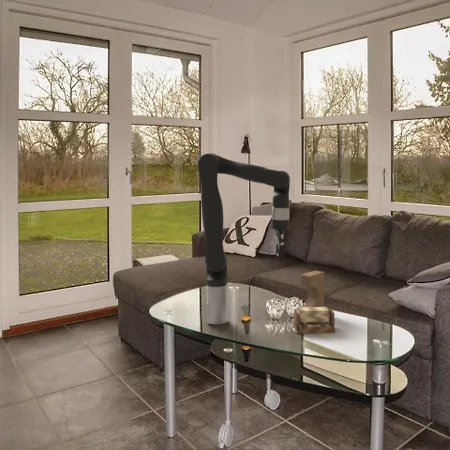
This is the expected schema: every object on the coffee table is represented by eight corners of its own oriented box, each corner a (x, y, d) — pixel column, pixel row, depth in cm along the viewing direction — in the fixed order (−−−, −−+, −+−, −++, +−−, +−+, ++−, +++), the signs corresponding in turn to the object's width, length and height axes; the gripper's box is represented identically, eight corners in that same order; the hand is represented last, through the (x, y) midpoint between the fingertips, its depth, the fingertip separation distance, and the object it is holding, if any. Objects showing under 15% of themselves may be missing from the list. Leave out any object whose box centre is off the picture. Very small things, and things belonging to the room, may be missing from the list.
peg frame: (296, 333, 213) (297, 315, 212) (293, 325, 223) (293, 308, 222) (335, 332, 214) (335, 314, 213) (329, 324, 224) (329, 307, 222)
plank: (326, 318, 220) (326, 306, 219) (328, 322, 215) (328, 310, 214) (298, 318, 221) (298, 307, 220) (299, 322, 216) (299, 310, 215)
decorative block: (309, 319, 231) (310, 276, 228) (300, 316, 235) (300, 274, 232) (324, 314, 238) (325, 272, 235) (315, 311, 242) (315, 270, 239)
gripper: (291, 220, 211) (290, 258, 213) (286, 215, 225) (286, 252, 227) (273, 220, 211) (272, 258, 213) (269, 215, 225) (269, 252, 227)
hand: (279, 255), depth 220 cm, fingers open, 8 cm apart
